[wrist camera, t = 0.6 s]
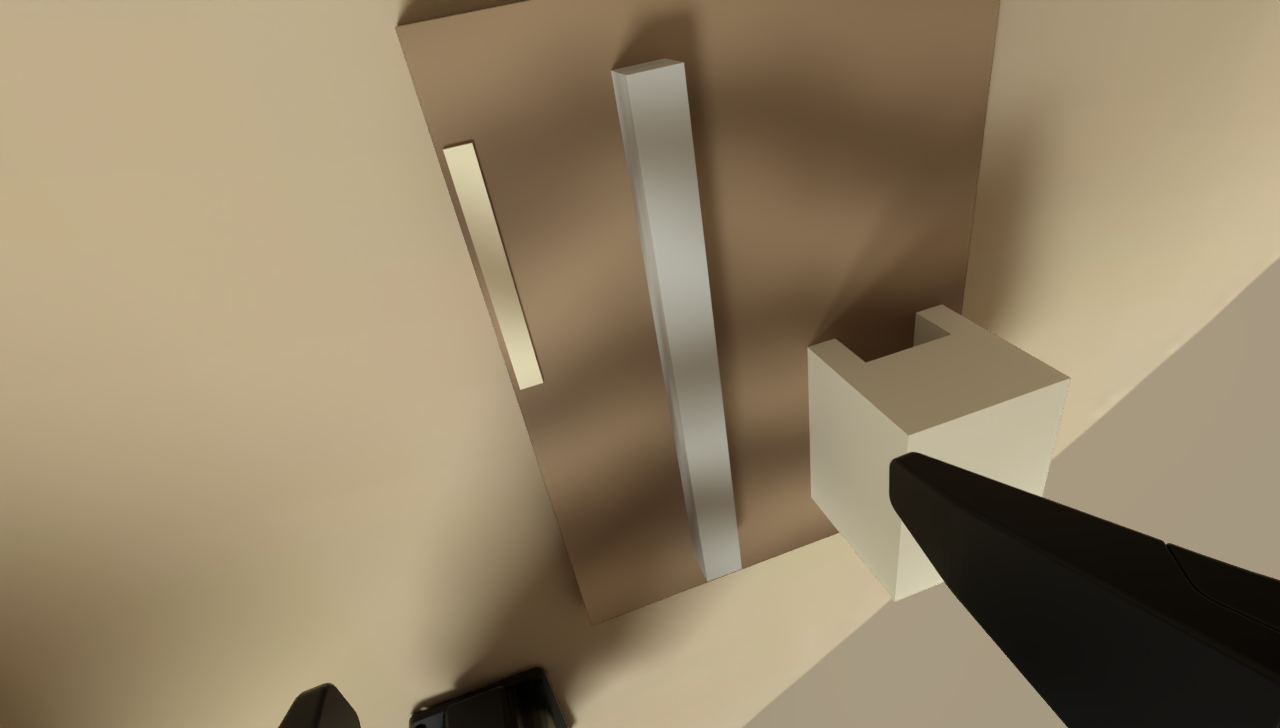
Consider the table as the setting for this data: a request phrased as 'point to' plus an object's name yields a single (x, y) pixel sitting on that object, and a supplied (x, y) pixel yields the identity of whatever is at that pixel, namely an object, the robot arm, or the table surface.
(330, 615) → the table surface
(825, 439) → the notched block
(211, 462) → the table surface
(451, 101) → the cleat board
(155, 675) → the table surface
